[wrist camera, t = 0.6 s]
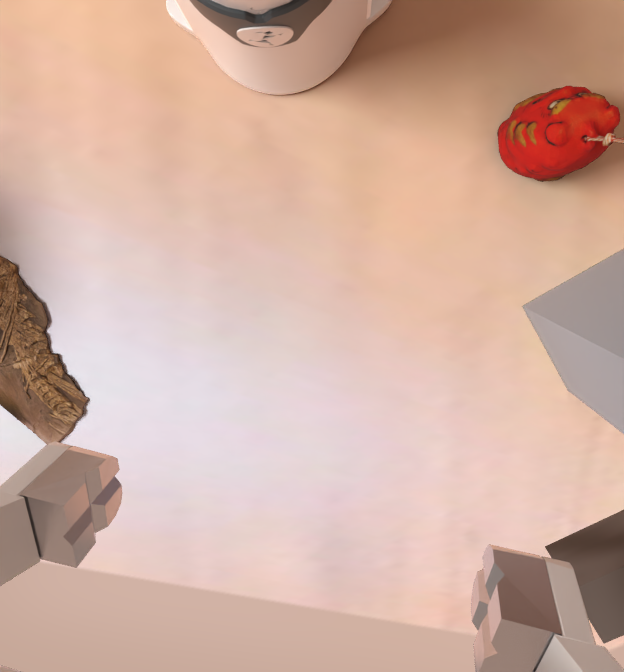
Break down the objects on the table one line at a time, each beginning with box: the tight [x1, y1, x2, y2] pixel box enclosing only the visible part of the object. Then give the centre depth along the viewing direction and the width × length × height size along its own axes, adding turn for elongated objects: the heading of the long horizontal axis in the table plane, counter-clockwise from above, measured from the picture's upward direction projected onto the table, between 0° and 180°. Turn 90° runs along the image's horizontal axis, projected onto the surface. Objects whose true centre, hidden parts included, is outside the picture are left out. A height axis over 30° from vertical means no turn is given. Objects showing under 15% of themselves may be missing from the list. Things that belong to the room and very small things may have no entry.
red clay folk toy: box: [498, 86, 624, 182], centre depth 36 cm, size 8×7×15 cm
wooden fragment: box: [0, 256, 88, 444], centre depth 50 cm, size 26×11×1 cm, turn 19°
